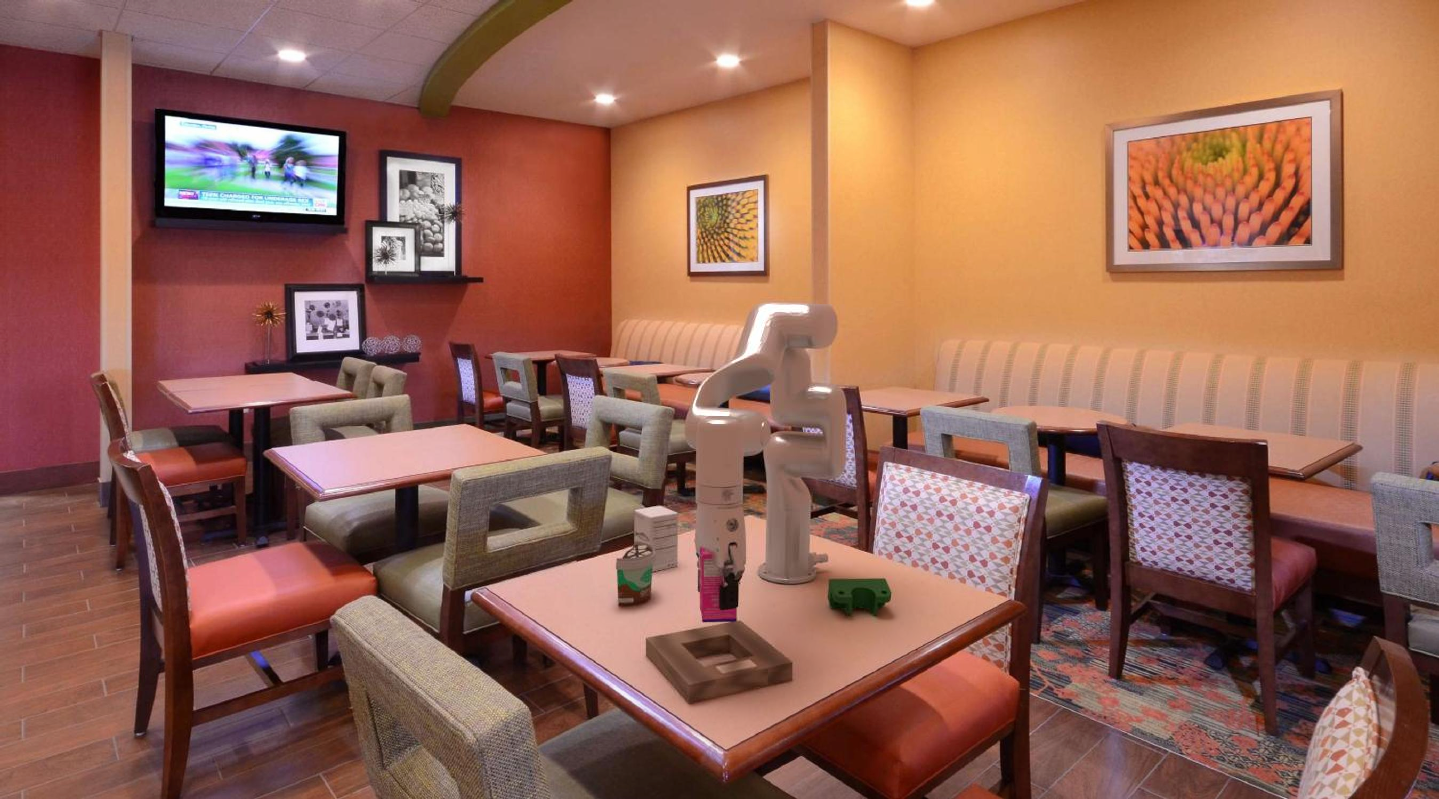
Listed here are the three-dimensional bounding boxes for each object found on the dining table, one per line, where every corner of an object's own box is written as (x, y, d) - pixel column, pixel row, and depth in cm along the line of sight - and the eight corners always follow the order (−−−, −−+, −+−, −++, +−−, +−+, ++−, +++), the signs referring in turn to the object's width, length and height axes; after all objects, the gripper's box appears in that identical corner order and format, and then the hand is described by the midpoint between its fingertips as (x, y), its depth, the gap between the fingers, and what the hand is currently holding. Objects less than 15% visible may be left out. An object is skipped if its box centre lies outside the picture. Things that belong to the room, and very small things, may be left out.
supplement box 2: (698, 609, 135) (699, 542, 133) (733, 608, 135) (735, 541, 133) (700, 623, 129) (701, 553, 127) (737, 622, 129) (738, 553, 128)
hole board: (740, 636, 145) (740, 619, 145) (792, 679, 129) (792, 660, 129) (645, 654, 137) (645, 636, 137) (688, 703, 121) (689, 683, 121)
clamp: (841, 636, 156) (826, 600, 153) (835, 617, 162) (820, 582, 158) (900, 615, 155) (886, 578, 152) (891, 596, 161) (878, 560, 157)
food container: (646, 611, 155) (646, 561, 154) (615, 608, 157) (615, 559, 155) (663, 588, 167) (663, 542, 166) (634, 586, 169) (634, 539, 167)
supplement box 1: (633, 563, 182) (633, 509, 181) (661, 557, 187) (661, 504, 185) (650, 573, 176) (650, 517, 175) (678, 566, 181) (679, 512, 179)
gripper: (766, 504, 123) (763, 615, 125) (716, 479, 139) (715, 579, 141) (722, 509, 120) (720, 623, 122) (676, 483, 135) (675, 585, 138)
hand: (717, 599), depth 131 cm, fingers closed on supplement box 2, 7 cm apart
